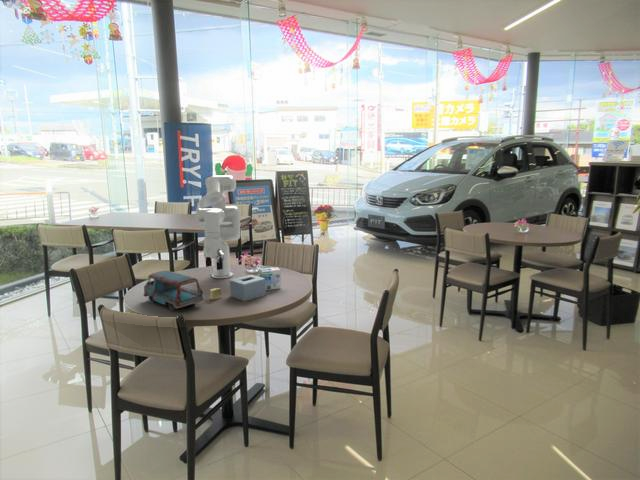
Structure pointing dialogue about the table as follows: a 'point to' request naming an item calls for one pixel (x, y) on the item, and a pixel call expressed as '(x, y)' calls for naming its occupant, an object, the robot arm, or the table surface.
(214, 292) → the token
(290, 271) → the table surface
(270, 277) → the light bulb box
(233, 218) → the robot arm
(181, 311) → the table surface
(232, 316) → the table surface
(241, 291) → the box
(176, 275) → the toy van
